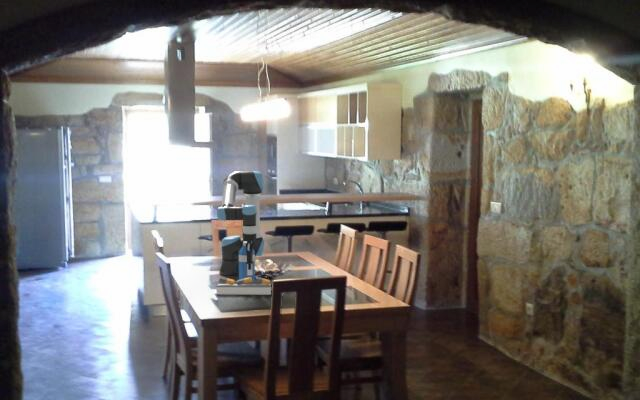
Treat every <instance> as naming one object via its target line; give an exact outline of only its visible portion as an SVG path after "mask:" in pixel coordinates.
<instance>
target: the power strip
mask: <svg viewBox="0 0 640 400" xmlns="http://www.w3.org/2000/svg"><path fill="white" fill-rule="evenodd" d="M271 284H272V285H273V281H270V284H269V285H265V284H262V283H258V282H255V281H252V282H249V283H245V284H241V285H237V280H235V281H234V284H233V285H230V284H226V283H222V282H219V281H218V284H217V285H216V295H252V296H253V295H256V296H257V295H260V296H261V295H262V296H264V295H272V293H271Z"/></svg>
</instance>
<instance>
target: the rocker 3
mask: <svg viewBox="0 0 640 400" xmlns="http://www.w3.org/2000/svg"><path fill="white" fill-rule="evenodd" d="M255 282H258V283H262V284H265V285H269V284H270V282H271V279H268V278H263V277H260V276H255Z"/></svg>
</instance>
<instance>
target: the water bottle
mask: <svg viewBox="0 0 640 400" xmlns="http://www.w3.org/2000/svg"><path fill="white" fill-rule="evenodd" d="M246 243H247V241H245V242H243V246H242V248H241V249H240V251H239V275H238V280H240V279H244V278H247V277H252V281H255V279H256V275H255V274H256V272H255V271H256V270H255V269H256V268H255V267H256V265H255V263H256V262H255V259H256V257H255V251H254V250H253V261H252V262H254V263H252V275H247V264H246V263H247V252H246Z"/></svg>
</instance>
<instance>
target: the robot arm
mask: <svg viewBox="0 0 640 400" xmlns="http://www.w3.org/2000/svg"><path fill="white" fill-rule="evenodd" d="M221 189H222V191H223V192H222V199H221V200H222V201H221V206H219V207H217V211H216V217H217V220H218V221H224V222H225V221H242V227H241V229H242V237H241V236H240V235H231V236H230V235H229V236H225V237H223V238H222V240H221V264H220V267H219V270H218V272H219V275H221V276H229V277H230V276H231V277H232V276H239V251H240V249H241V248H242V246H243V242H245V241H247V243H246V252H247V263H246V264H247V275H252V263H254V262H252V261H253V250H254V251H255V258H257V257H262V256H263V255H264V249H265V247H264V246H265V239H266V238H265V237H263V234H262V233H261V220H260V219H261V218H260V217H261V214H260V213H261V211H260V209H261V207H260V206H261V205H260V196H261V195H262V193H263V191H265V185H264V177H263V173H262V172H261V171H255V170H247V171H246V170H245V171H244V170H243V171H242V170H241V171H239V170H237V171H234V172H231V173H229V174H228V175H227V176H226V177H225V178H224V179H223V181H222V187H221ZM237 191H242V194H243V195H244V196H245V205H242V206H236V200H237V199H236V196H237Z"/></svg>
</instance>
